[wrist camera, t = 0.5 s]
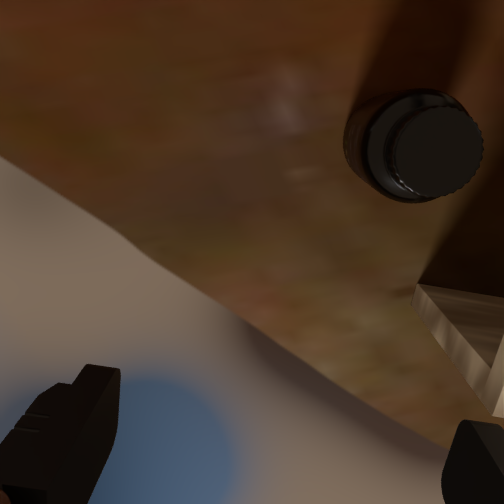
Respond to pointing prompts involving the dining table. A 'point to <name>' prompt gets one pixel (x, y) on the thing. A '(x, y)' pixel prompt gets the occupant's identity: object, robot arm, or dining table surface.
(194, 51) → the dining table surface
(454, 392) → the dining table surface
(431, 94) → the supplement bottle
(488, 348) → the riser
